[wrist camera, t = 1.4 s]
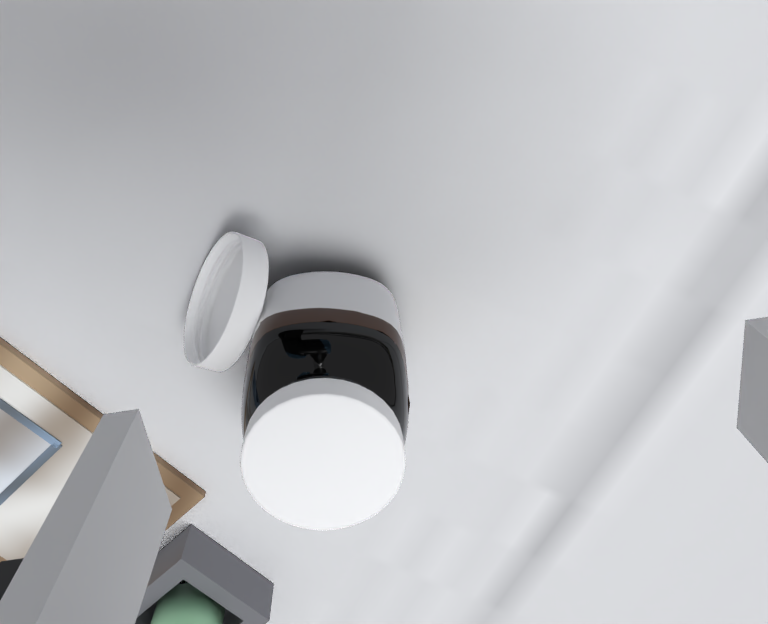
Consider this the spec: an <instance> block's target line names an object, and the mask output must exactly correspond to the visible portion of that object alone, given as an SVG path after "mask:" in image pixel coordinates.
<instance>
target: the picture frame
mask: <svg viewBox="0 0 768 624" xmlns="http://www.w3.org/2000/svg"><path fill="white" fill-rule="evenodd" d="M102 416H103V414H102V413H100V412H99V411H98V410H96V409H95V408H94V407H92V406H91V405H90V404H88V403H87V402H86V401H84V400H83V399H82V398H80V397H79V396H78V395H76V394H75V393H74V392H72V391H71V390H70V389H68V388H67V387H66V386H64V385H63V384H62V383H60V382H59V381H58V380H56V379H55V378H54V377H52V376H51V375H50V374H48V373H47V372H46V371H44V370H43V369H42V368H40V367H39V366H38V365H36V364H35V363H34V362H32V361H31V360H30V359H28V358H27V357H26V356H24V355H23V354H22V353H20V352H19V351H18V350H16V349H15V348H14V347H12V346H11V345H10V344H8V343H7V342H6V341H4V340H3V339H2V338H0V562H1V561H7V560H14V559H21V558H24V557H25V555H26V553H27V552H28V550H29V548H30V546H31V544H32V543H33V541H34V539H35V537H36V535H37V534H38V532H39V530H40V528H41V526H42V525H43V523H44V521H45V519H46V517H47V516H48V514H49V512H50V510H51V508H52V506H53V505H54V503H55V501H56V499H57V497H58V496H59V494H60V492H61V490H62V488H63V487H64V485H65V483H66V481H67V479H68V478H69V476H70V474H71V472H72V470H73V469H74V467H75V465H76V463H77V461H78V460H79V458H80V456H81V454H82V452H83V451H84V449H85V447H86V445H87V443H88V442H89V440H90V438H91V436H92V434H93V433H94V431H95V429H96V427H97V425H98V424H99V422H100V420H101V418H102ZM153 454H154V457H155V460H156V463H157V466H158V469H159V472H160V475H161V478H162V481H163V484H164V487H165V490H166V493H167V496H168V499H169V502H170V505H171V508H172V511H171V514H170V517H169V520H168V523H167V526H166V529H165V531H166V530H167V529H168V528H169V527H170V526H171V525H173V524H174V523H175V522H176V521H177V520H178V519H180V518H181V517H182V516H183V515H184V514H185V513H187V512H188V511H189V510H190V509H191V508H192V507H193V506H195V505H196V504H197V503H198V502H199V501H200V500H202V499H203V498H204V497H205V493H206V491H204V490H203V489H202V488H200V487H199V486H198V485H196V484H195V483H194V482H192V481H191V480H190V479H188V478H187V477H186V476H184V475H183V474H182V473H180V472H179V471H178V470H176V469H175V468H174V467H172V466H171V465H170V464H168V463H167V462H166V461H164V460H163V459H162V458H160V457H159V456H158V455H156V454H155V453H154V452H153Z"/></svg>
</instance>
